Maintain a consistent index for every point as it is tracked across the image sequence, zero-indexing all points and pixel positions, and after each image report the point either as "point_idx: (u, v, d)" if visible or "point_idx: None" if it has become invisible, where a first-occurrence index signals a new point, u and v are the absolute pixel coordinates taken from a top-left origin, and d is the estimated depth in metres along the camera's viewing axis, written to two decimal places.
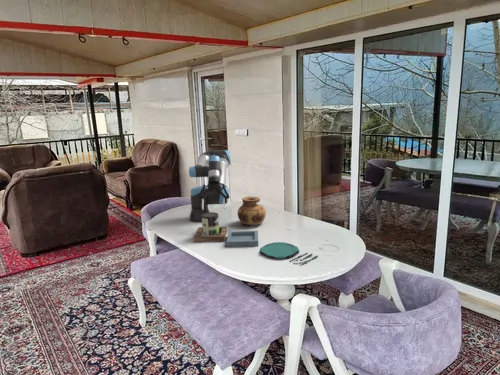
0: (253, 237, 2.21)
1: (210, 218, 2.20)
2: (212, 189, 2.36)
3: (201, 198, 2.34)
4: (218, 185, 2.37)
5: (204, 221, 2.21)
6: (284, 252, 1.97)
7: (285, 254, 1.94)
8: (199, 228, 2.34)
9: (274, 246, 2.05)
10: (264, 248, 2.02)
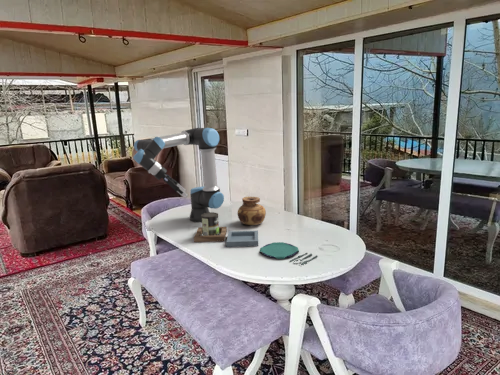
0: (253, 237, 2.21)
1: (210, 218, 2.20)
2: None
3: None
4: None
5: (204, 221, 2.21)
6: (284, 252, 1.97)
7: (285, 254, 1.94)
8: (199, 228, 2.34)
9: (274, 246, 2.05)
10: (264, 248, 2.02)
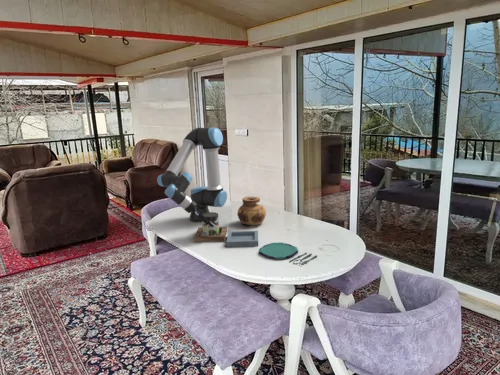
0: (253, 237, 2.21)
1: (210, 218, 2.20)
2: None
3: None
4: (194, 213, 2.19)
5: None
6: (283, 252, 1.97)
7: (284, 254, 1.94)
8: (199, 228, 2.34)
9: (273, 246, 2.05)
10: (263, 248, 2.01)
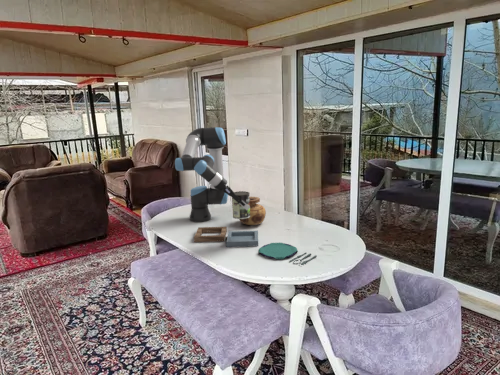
0: (253, 237, 2.21)
1: (242, 196, 2.07)
2: None
3: None
4: (225, 190, 2.06)
5: None
6: (283, 252, 1.97)
7: (284, 254, 1.94)
8: (199, 228, 2.34)
9: (272, 246, 2.05)
10: (262, 249, 2.01)
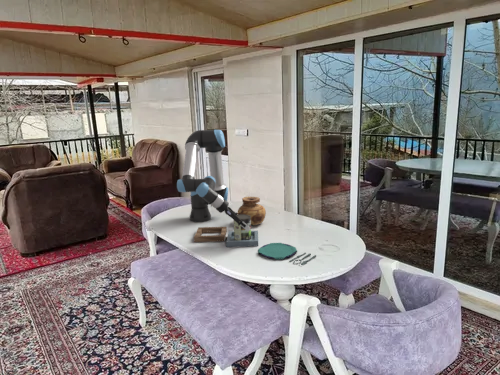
0: (253, 237, 2.21)
1: (243, 220, 2.10)
2: None
3: None
4: (226, 212, 2.09)
5: (236, 223, 2.12)
6: (282, 252, 1.97)
7: (284, 254, 1.94)
8: (199, 228, 2.34)
9: (271, 247, 2.04)
10: (262, 249, 2.01)
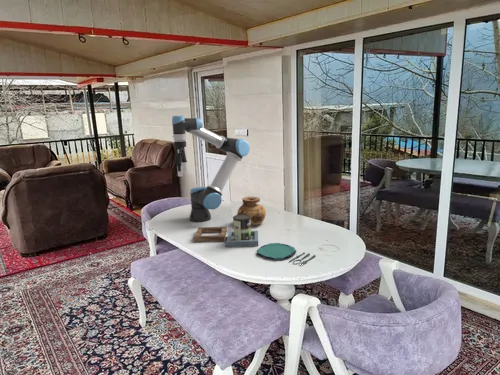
0: (253, 237, 2.21)
1: (243, 220, 2.10)
2: None
3: None
4: None
5: (236, 224, 2.12)
6: (281, 253, 1.96)
7: (283, 255, 1.94)
8: (199, 228, 2.34)
9: (270, 247, 2.04)
10: (261, 249, 2.00)
